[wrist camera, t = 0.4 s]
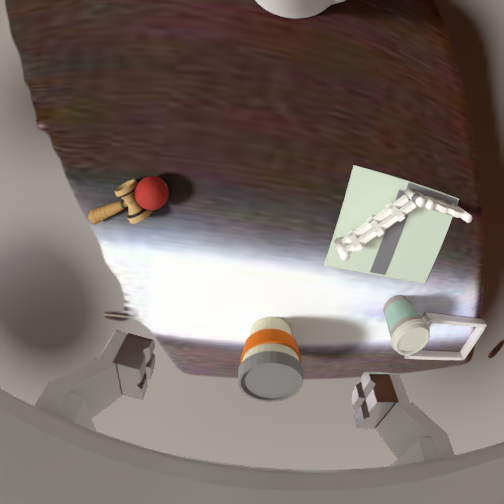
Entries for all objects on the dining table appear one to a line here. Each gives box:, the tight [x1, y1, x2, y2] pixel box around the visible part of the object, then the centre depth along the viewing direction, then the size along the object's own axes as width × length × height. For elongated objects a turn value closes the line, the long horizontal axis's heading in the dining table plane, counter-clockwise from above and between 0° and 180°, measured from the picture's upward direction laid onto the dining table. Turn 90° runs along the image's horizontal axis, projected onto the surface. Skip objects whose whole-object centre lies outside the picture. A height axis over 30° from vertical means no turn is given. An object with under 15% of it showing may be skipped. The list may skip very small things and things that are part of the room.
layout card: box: [324, 165, 459, 284], centre depth 55 cm, size 20×24×1 cm
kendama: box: [88, 176, 169, 224], centre depth 54 cm, size 8×6×18 cm
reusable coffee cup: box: [238, 317, 303, 402], centre depth 62 cm, size 13×13×15 cm
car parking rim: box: [404, 312, 487, 360], centre depth 67 cm, size 13×22×2 cm, turn 80°
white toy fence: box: [334, 188, 426, 261], centre depth 51 cm, size 18×2×6 cm, turn 130°
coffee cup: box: [384, 296, 430, 355], centre depth 58 cm, size 8×8×12 cm
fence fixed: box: [414, 191, 472, 223], centre depth 49 cm, size 11×2×6 cm, turn 80°
